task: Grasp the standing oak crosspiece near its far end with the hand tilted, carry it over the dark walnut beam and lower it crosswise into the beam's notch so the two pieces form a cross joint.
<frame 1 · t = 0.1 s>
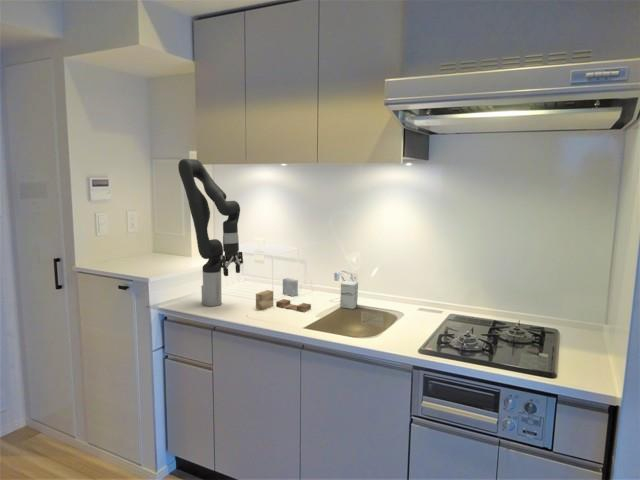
hand: (232, 274, 229), 17 cm above the worktop, tool pointing down, fingers open, 8 cm apart
medicine box: (290, 294, 259), on the worktop
oak crosspiece: (264, 307, 233), on the worktop
notched beam: (293, 307, 234), on the worktop
supplement box: (348, 306, 238), on the worktop
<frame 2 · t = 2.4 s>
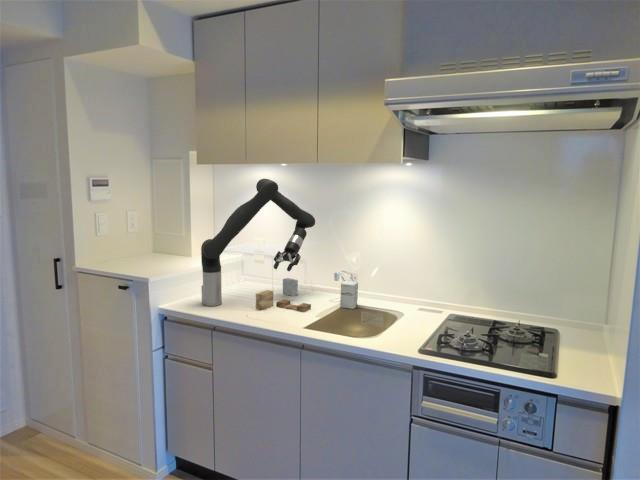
hand: (281, 269, 242), 17 cm above the worktop, tool tilted 45°, fingers open, 8 cm apart
nothing on the worktop moved.
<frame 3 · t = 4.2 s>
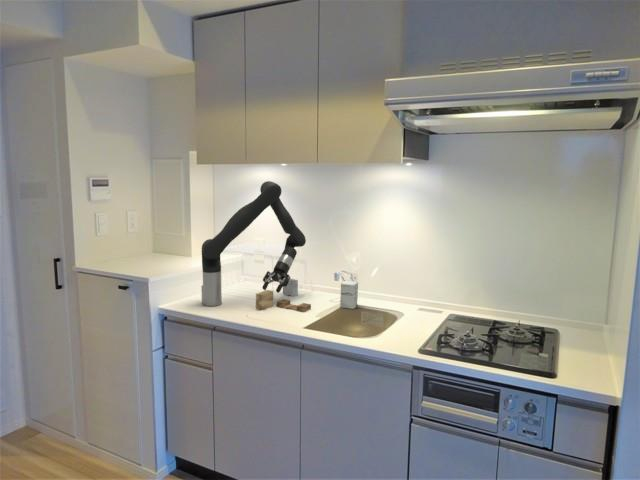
hand: (270, 290, 236), 8 cm above the worktop, tool tilted 45°, fingers open, 8 cm apart
nothing on the worktop moved.
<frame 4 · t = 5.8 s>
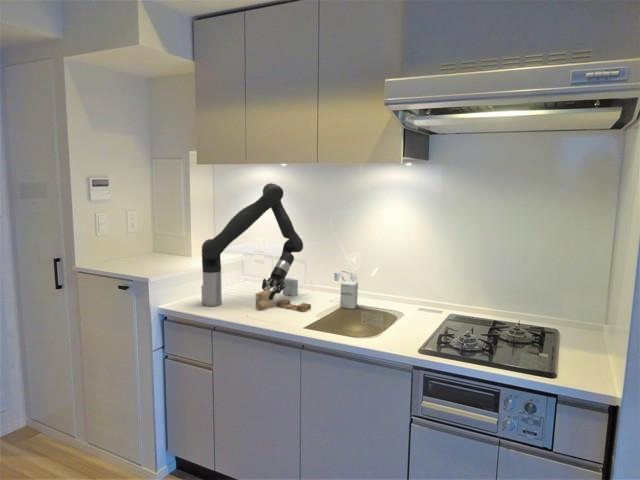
hand: (266, 298, 234), 5 cm above the worktop, tool tilted 45°, fingers closed on oak crosspiece, 4 cm apart
oak crosspiece: (264, 307, 233), on the worktop, touching gripper
everything else where it was.
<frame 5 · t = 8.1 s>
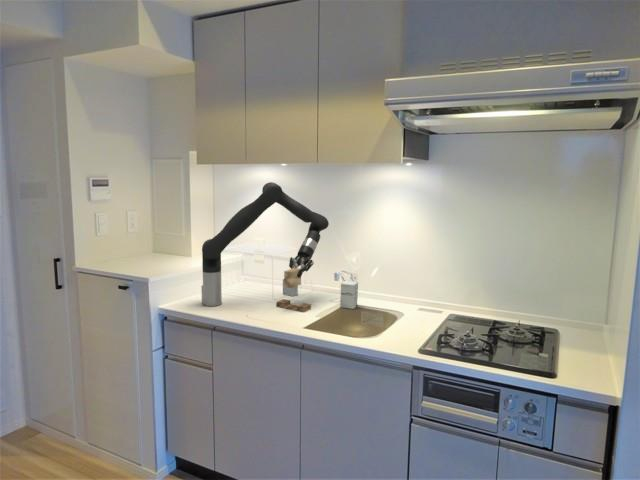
hand: (294, 276, 232), 16 cm above the worktop, tool tilted 45°, fingers closed on oak crosspiece, 4 cm apart
oak crosspiece: (292, 285, 231), point 12 cm above the worktop, touching gripper
everything else where it was.
when the fingers open (6 cm above the worktop, at t = 10.8 s): oak crosspiece stays where it is, resting on notched beam.
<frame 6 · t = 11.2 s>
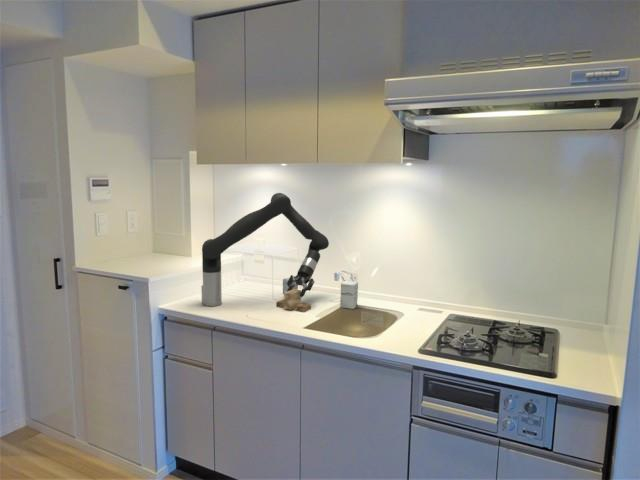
hand: (294, 294, 234), 6 cm above the worktop, tool tilted 45°, fingers open, 7 cm apart
oak crosspiece: (292, 306, 233), point 1 cm above the worktop, touching notched beam
everything else where it was.
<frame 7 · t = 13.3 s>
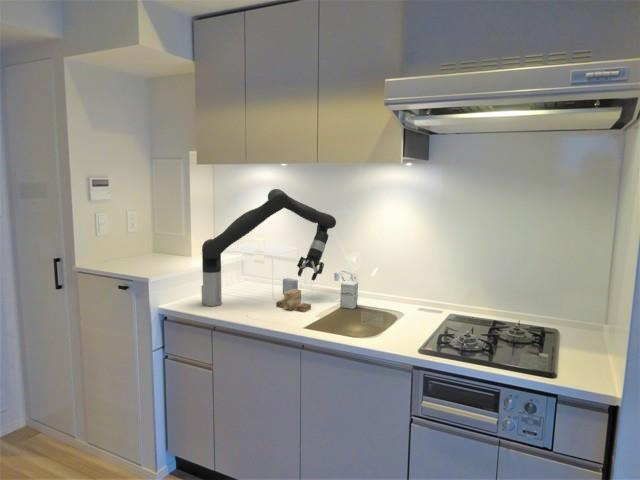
hand: (305, 278, 244), 12 cm above the worktop, tool tilted 30°, fingers open, 8 cm apart
nothing on the worktop moved.
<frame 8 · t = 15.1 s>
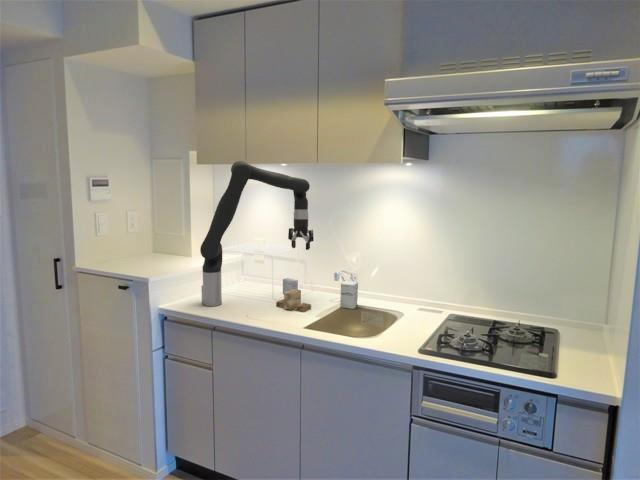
hand: (300, 248, 242), 28 cm above the worktop, tool pointing down, fingers open, 8 cm apart
nothing on the worktop moved.
at the end: oak crosspiece inside the target area on the notched beam (0.7 cm from its centre), point 0.6 cm above the notched beam's base; oak crosspiece tilted 0°; the gripper is holding nothing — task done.
